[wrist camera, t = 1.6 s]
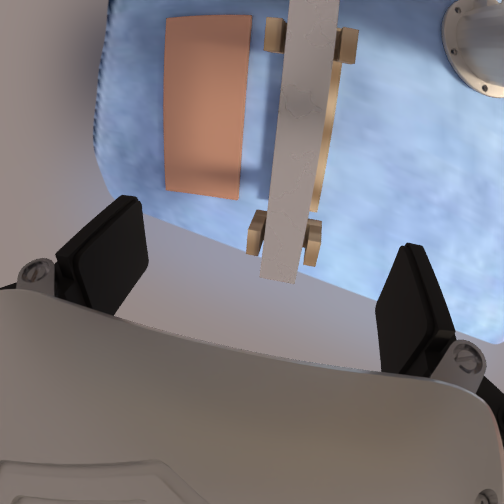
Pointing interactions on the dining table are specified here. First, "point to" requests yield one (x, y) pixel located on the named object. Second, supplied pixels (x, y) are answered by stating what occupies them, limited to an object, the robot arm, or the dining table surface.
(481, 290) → the dining table surface
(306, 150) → the steel bar
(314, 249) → the hook stand
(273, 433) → the robot arm
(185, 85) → the terracotta mat
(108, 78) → the dining table surface
